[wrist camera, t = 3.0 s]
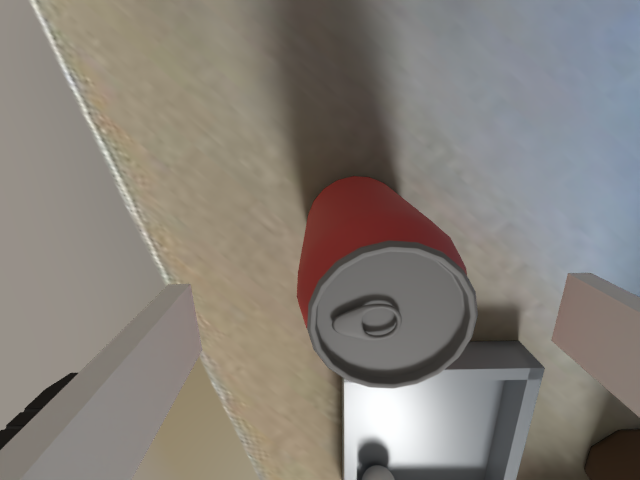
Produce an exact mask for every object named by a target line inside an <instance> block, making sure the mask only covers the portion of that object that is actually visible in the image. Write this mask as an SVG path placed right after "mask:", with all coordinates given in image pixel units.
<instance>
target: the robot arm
mask: <svg viewBox="0 0 640 480" xmlns="http://www.w3.org/2000/svg"><path fill="white" fill-rule="evenodd" d="M551 341H553V342H554V343H555V344H556V345H557V346H558V347H559V348H561V349H562V350H563V351H564V352H565V353H566V354H567V355H569V356H570V357H571V358H572V359H573V360H574V361H575V362H577V363H578V364H579V365H580V366H581V367H582V368H583V369H585V370H586V371H587V372H588V373H589V374H590V375H591V376H593V377H594V378H595V379H596V380H597V381H598V382H599V383H601V384H602V385H603V386H604V387H605V388H606V389H607V390H609V391H610V392H611V393H612V394H613V395H614V396H615V397H616V398H618V399H619V400H620V401H621V402H622V403H623V404H624V405H626V406H627V407H628V408H629V409H630V410H631V411H632V412H634V413H635V414H636V415H637V416H638V417H639V418H640V297H638V296H636V295H634V294H632V293H630V292H628V291H626V290H624V289H622V288H620V287H618V286H616V285H614V284H612V283H610V282H608V281H606V280H604V279H602V278H600V277H598V276H596V275H594V274H592V273H568V276H567V280H566V284H565V288H564V292H563V296H562V300H561V304H560V308H559V312H558V316H557V320H556V324H555V328H554V332H553V336H552V340H551ZM201 351H202V346H201V340H200V335H199V329H198V323H197V318H196V312H195V307H194V301H193V296H192V290H191V285H190V284H168V285H167V286H166V287H165V288H164V289H163V290H162V291H161V292H160V293H159V294H158V295H157V296H156V297H155V298H154V299H153V300H152V301H151V302H150V303H149V304H148V305H147V306H146V307H145V308H144V309H143V310H142V311H141V312H140V313H139V314H138V315H137V316H136V317H135V318H134V319H133V320H132V321H131V322H130V323H129V324H128V325H127V326H126V327H125V328H124V329H123V330H122V331H121V332H120V333H119V334H118V335H117V336H116V337H115V338H114V339H113V340H112V341H111V342H110V343H109V344H108V345H107V346H106V347H105V348H103V349H102V351H101V352H100V353H98V354H97V356H95V357H94V358H93V359H92V360H91V361H90V362H89V363H88V364H87V365H86V366H85V367H84V368H83V369H82V370H81V371H80V372H79V373H70V374H68V375H67V376H65V377H64V378H62V379H61V380H59V381H58V382H56V383H54V384H53V385H51V386H50V387H48V388H46V389H45V390H44V391H43V392H42V393H41V394H40V395H39V396H38V397H37V398H35V400H33V401H32V402H31V403H30V404H29V405H28V406H27V407H26V408H25V410H24V412H21V413H19V414H18V415H17V416H16V417H15V418H14V419H13V420H12V421H11V422H10V423H8V424H7V425H6V429H5V430H1V431H0V480H131V479H132V478H133V476H134V474H135V472H136V470H137V469H138V466H139V465H140V463H141V461H142V459H143V458H144V456H145V454H146V452H147V450H148V448H149V446H150V445H151V443H152V441H153V439H154V437H155V435H156V434H157V432H158V430H159V428H160V426H161V424H162V423H163V421H164V419H165V417H166V415H167V413H168V412H169V410H170V408H171V406H172V404H173V403H174V401H175V399H176V397H177V395H178V393H179V391H180V389H181V388H182V386H183V384H184V382H185V381H186V379H187V377H188V375H189V373H190V371H191V370H192V368H193V366H194V364H195V362H196V360H197V359H198V357H199V355H200V353H201Z"/></svg>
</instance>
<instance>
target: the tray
mask: <svg viewBox="0 0 640 480" xmlns="http://www.w3.org/2000/svg"><path fill="white" fill-rule="evenodd" d="M544 369H545V368H544V367H543V366H542V365H541V364H540V363H539V361H538V360H537V359H536V358H535V357H534V356H533V355H532V354H531V353H530V352H529V351H528V350H527V349H526V348H525V347H524V346H523V345H522V344H521V343H520V341H479V342H469V343H468V344H467V346H466V347H465V349H464V350H463V352H462V353H461V355H460V356H459V358H458V359H456V360H455V361H454V362H453V363H452V364H451V365H449V366H448V367H447V368H446V369H445V370H443V371H442V372H441V373H440V374H438V375H435V376H433V377H431V378H429V379H427V380H425V381H423V382H420V383H418V384H414V385H409V386H404V387H399V388H394V389H392V388H373V387H366V386H363V385H360V384H357V383H354V382H351V381H348V380H346V379H344V378H343V377H342V480H362V477H363V474H364V473H365V471H366V470H367V469H368V468H369V467H371V466H374V465H380V466H383V467H385V468H386V469H388V470H389V471H390V472H391V474H392V475H393V477H394V479H395V480H516V478H517V474H518V470H519V466H520V462H521V458H522V454H523V451H524V447H525V443H526V439H527V435H528V431H529V427H530V423H531V419H532V416H533V412H534V408H535V404H536V400H537V396H538V392H539V388H540V384H541V380H542V377H543V373H544Z"/></svg>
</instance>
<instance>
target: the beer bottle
mask: <svg viewBox="0 0 640 480" xmlns="http://www.w3.org/2000/svg"><path fill="white" fill-rule="evenodd" d="M585 472H586V474H587V476H588V477H589V478H590V480H640V429H639V430H618V431H617V432H615V433H613V434H612V435H610V436H608V437H607V438H605V439H603V440H602V441H600V442H599V443H597V444H595V445H594V446H592V447H591V449H590V453H589V456H588V459H587V462H586V465H585Z"/></svg>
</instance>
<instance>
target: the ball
mask: <svg viewBox="0 0 640 480" xmlns="http://www.w3.org/2000/svg"><path fill="white" fill-rule="evenodd" d="M362 480H395V479H394V477H393V475H392V474H391V472H390V471H389V470H388V469H386V468H385V467H383V466H380V465H374V466H371V467H369V468H368V469H367V470H366V471H365V473H364V474H363V477H362Z"/></svg>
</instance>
